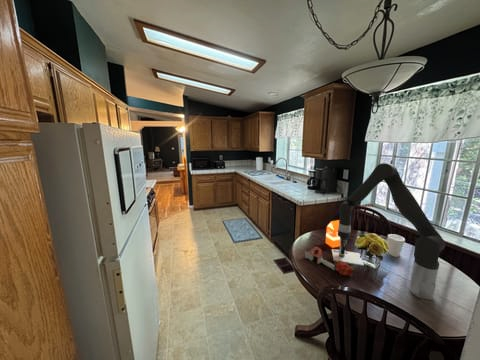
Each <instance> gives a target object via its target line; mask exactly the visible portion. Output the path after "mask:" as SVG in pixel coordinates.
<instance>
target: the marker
mask: <svg viewBox="0 0 480 360" xmlns="http://www.w3.org/2000/svg"><path fill="white" fill-rule="evenodd" d="M340 242H341V241H340ZM338 248H339V249H338V250H339V256H340V257H345V252H344V255H343V254H341V245H340V246H339V247H338Z"/></svg>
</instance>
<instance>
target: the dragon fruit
mask: <svg viewBox="0 0 480 360" xmlns="http://www.w3.org/2000/svg"><path fill="white" fill-rule="evenodd" d="M333 264H334V266H335V267H334V271H337V272H338V273H339V275H340V276H342V275H343V276H344V277H350V276H351V275H353V274H354V273H355V272H356V271H355V268H354V267H351V266H350V264H349V263H345V262H342V261H340V260H339V261H334V263H333Z"/></svg>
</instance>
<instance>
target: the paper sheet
mask: <svg viewBox="0 0 480 360" xmlns="http://www.w3.org/2000/svg"><path fill="white" fill-rule="evenodd" d="M331 254H332V259H333V260H332V261H333V262H337V261H339V260H340V261H342V262H345V263H346V264H349V265H350V264H351V265H356V266H361V267H364V266H365V264H364V261H363V262H361V261H359V258H360V256H361V254H360V252H353V251H347V250H345V257H340V256H339V249H335V248H331Z"/></svg>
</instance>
